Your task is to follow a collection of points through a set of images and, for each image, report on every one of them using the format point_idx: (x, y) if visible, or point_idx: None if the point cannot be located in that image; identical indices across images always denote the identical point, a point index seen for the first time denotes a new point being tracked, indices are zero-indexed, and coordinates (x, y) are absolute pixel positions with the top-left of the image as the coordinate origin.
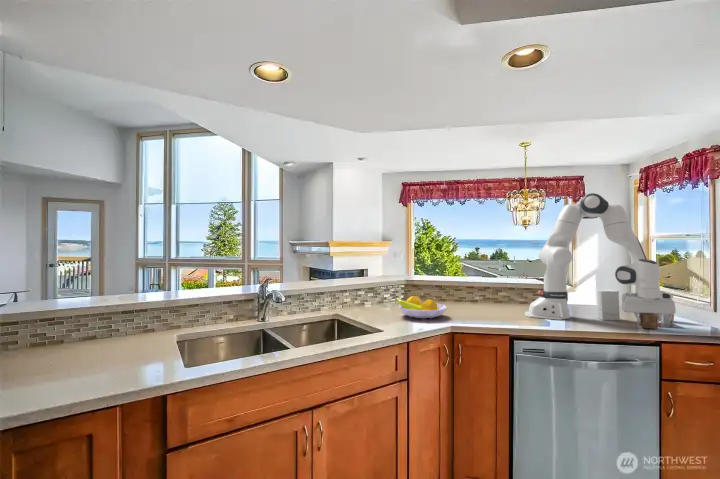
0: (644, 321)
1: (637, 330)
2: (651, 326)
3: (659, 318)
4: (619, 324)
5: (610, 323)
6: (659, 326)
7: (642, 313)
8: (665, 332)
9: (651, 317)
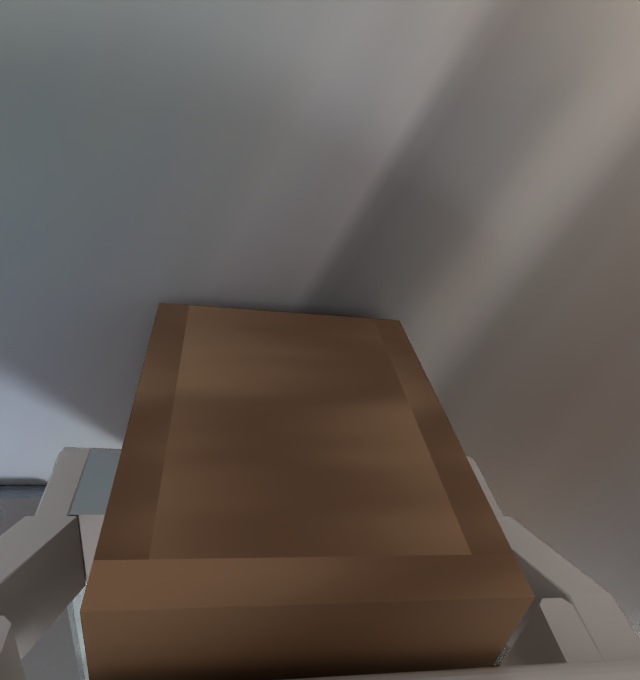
0: (432, 410)
1: (617, 164)
2: (273, 333)
3: (12, 548)
4: (543, 528)
5: (613, 551)
6: (28, 497)
7: (493, 657)
8: (96, 29)
9: (289, 498)
